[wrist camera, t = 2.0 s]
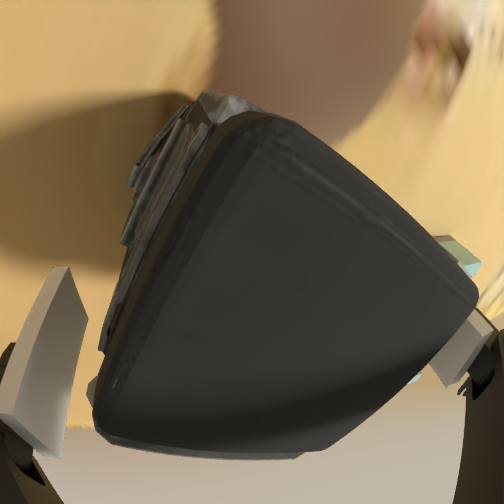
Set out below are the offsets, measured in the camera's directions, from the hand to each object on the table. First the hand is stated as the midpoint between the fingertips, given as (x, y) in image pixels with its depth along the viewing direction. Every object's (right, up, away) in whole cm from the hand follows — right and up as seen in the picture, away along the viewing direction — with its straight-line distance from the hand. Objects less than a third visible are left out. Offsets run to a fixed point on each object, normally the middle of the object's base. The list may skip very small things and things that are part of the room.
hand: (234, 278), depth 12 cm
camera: (-2, +5, +7) cm, 9 cm away
